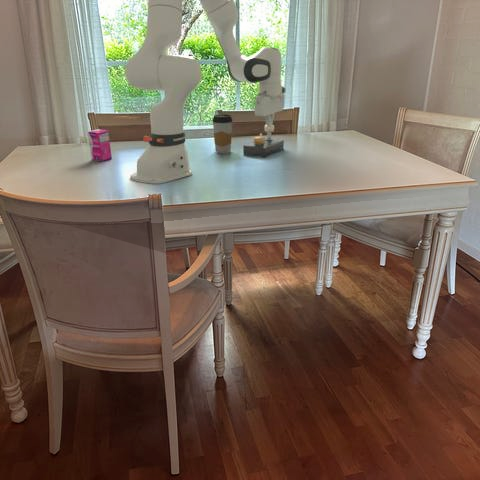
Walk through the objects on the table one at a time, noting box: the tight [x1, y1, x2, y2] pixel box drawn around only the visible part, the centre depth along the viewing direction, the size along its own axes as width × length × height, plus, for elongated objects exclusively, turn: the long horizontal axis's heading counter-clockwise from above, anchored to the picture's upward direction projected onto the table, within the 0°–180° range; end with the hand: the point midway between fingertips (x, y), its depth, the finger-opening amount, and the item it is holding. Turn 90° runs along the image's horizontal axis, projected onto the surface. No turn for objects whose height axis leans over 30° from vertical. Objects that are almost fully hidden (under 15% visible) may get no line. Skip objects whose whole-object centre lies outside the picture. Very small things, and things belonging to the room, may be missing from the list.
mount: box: [242, 137, 285, 159], centre depth 188 cm, size 17×10×4 cm, turn 149°
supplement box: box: [87, 128, 113, 163], centre depth 176 cm, size 6×6×12 cm
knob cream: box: [264, 124, 275, 142], centre depth 190 cm, size 4×4×7 cm
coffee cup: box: [211, 113, 234, 155], centre depth 186 cm, size 8×8×15 cm
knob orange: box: [253, 136, 265, 146], centre depth 184 cm, size 4×4×7 cm
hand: (269, 124), depth 188 cm, fingers closed
